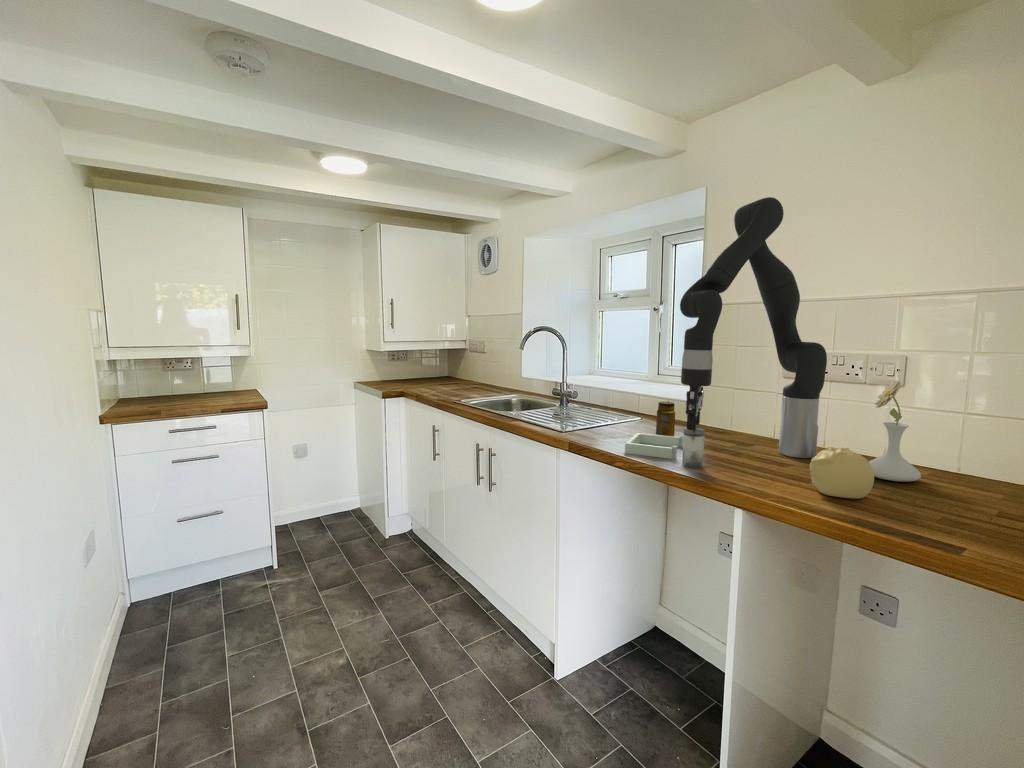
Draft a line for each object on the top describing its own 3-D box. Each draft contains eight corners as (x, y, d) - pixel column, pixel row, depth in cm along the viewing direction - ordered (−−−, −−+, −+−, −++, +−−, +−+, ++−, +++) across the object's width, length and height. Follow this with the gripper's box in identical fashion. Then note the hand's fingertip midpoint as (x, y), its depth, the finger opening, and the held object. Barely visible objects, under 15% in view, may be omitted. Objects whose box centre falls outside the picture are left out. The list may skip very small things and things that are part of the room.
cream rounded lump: (816, 482, 115) (820, 439, 114) (877, 495, 106) (882, 448, 105) (800, 493, 108) (803, 446, 106) (864, 508, 99) (869, 458, 97)
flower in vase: (868, 468, 126) (876, 375, 123) (924, 478, 118) (934, 379, 115) (855, 479, 118) (864, 379, 115) (915, 490, 109) (926, 383, 106)
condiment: (679, 437, 163) (680, 402, 162) (667, 441, 157) (668, 405, 156) (659, 433, 168) (661, 400, 167) (647, 437, 162) (648, 402, 161)
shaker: (704, 465, 130) (705, 428, 128) (702, 470, 125) (703, 432, 124) (683, 462, 132) (684, 426, 131) (680, 467, 127) (682, 430, 126)
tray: (683, 446, 149) (684, 435, 149) (675, 459, 135) (676, 446, 135) (636, 441, 156) (637, 431, 155) (624, 453, 142) (625, 441, 141)
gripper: (709, 369, 117) (705, 433, 119) (714, 366, 130) (710, 424, 132) (677, 368, 121) (674, 430, 123) (685, 364, 133) (682, 421, 135)
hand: (693, 427), depth 127 cm, fingers open, 8 cm apart
